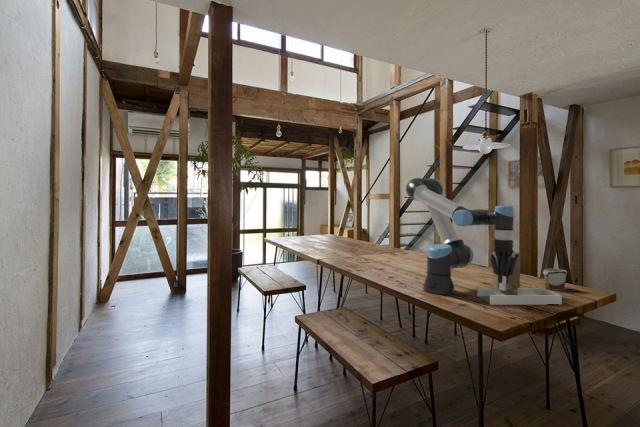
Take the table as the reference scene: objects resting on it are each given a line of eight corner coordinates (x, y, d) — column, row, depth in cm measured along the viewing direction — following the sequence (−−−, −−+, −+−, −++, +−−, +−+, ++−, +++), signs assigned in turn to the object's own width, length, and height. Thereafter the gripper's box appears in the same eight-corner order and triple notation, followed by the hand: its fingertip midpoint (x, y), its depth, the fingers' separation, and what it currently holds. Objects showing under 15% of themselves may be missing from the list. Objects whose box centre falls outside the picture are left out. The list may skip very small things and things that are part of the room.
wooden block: (519, 292, 161) (521, 253, 160) (498, 291, 163) (499, 252, 162) (512, 287, 170) (513, 250, 170) (491, 286, 172) (492, 249, 172)
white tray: (490, 304, 142) (491, 295, 142) (477, 296, 154) (477, 288, 154) (561, 304, 143) (561, 295, 143) (542, 296, 155) (542, 288, 155)
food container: (556, 286, 173) (556, 267, 173) (566, 289, 167) (567, 270, 167) (536, 287, 171) (537, 268, 171) (546, 290, 165) (547, 271, 165)
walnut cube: (506, 295, 146) (507, 284, 146) (500, 292, 151) (500, 281, 151) (517, 295, 146) (517, 284, 146) (511, 292, 151) (511, 282, 151)
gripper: (494, 240, 143) (493, 292, 144) (522, 240, 143) (521, 292, 144) (485, 238, 151) (484, 287, 152) (512, 238, 151) (511, 287, 152)
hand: (502, 289), depth 148 cm, fingers closed
